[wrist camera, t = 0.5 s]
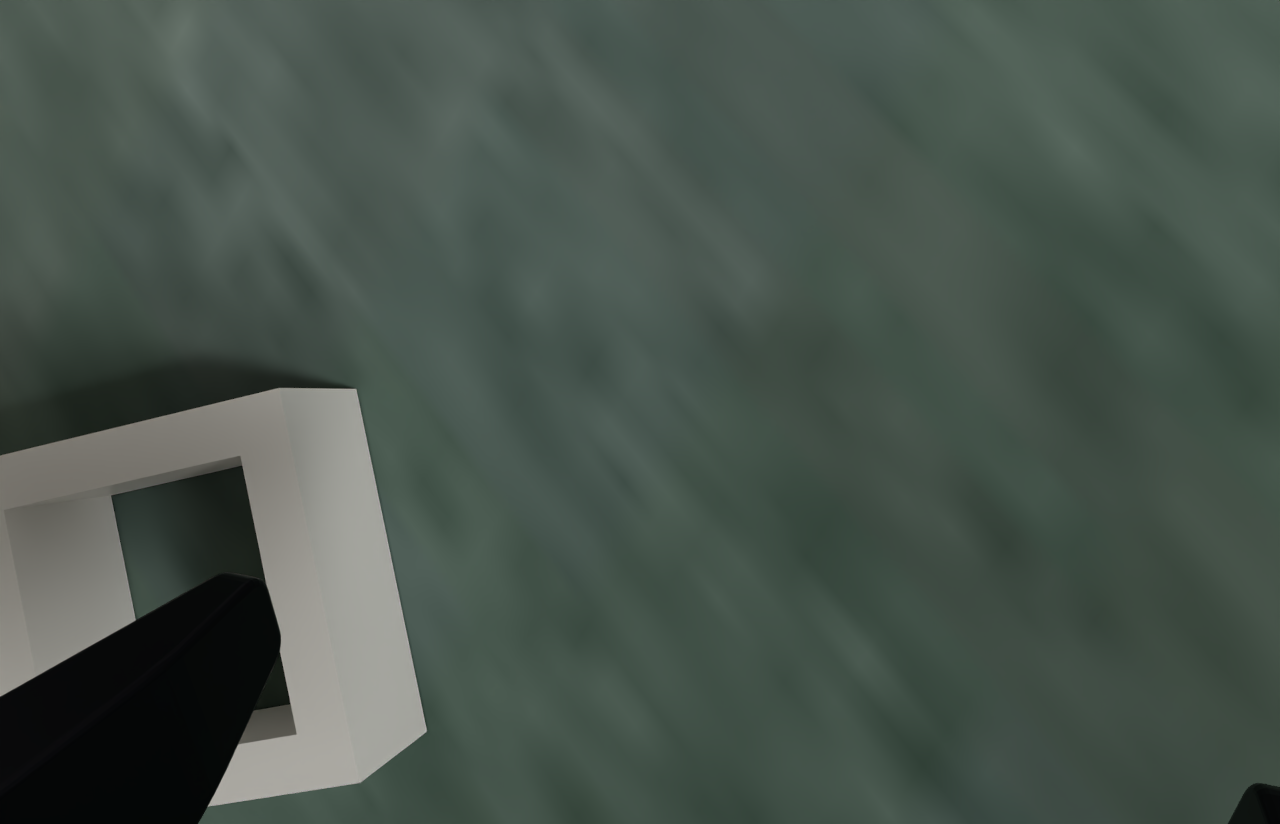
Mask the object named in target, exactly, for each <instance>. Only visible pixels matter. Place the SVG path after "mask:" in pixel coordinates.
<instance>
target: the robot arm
mask: <svg viewBox="0 0 1280 824" xmlns="http://www.w3.org/2000/svg"><path fill="white" fill-rule="evenodd" d="M280 647H281V633H280V629H279V625H278V622H277V618H276V615H275V611H274V608H273V604H272V601H271V597H270V594H269V590H268V588H267V585H266V584H265V583H264V582H263V581H262V580H261V579H259V578H257V577H252V576H247V575H242V574H238V573H232V572H224V573H221V574H218V575H216V576H213V577H212V578H210V579H208V580H206V581H205V582H203V583H201V584H199V585H197V586H196V587H194V588H192V589H190V590H189V591H187V592H185V593H183V594H181V595H180V596H178V597H176V598H174V599H173V600H171V601H169V602H167V603H166V604H164V605H162V606H160V607H158V608H157V609H155V610H153V611H151V612H150V613H148V614H146V615H144V616H142V617H141V618H139V619H137V620H135V621H134V622H132V623H130V624H128V625H126V626H125V627H123V628H121V629H119V630H118V631H116V632H114V633H112V634H110V635H109V636H107V637H105V638H103V639H102V640H100V641H98V642H96V643H94V644H93V645H91V646H89V647H87V648H86V649H84V650H82V651H80V652H78V653H77V654H75V655H73V656H71V657H70V658H68V659H66V660H64V661H62V662H61V663H59V664H57V665H55V666H54V667H52V668H50V669H48V670H46V671H45V672H43V673H41V674H39V675H38V676H36V677H34V678H32V679H31V680H29V681H27V682H25V683H23V684H22V685H20V686H18V687H16V688H15V689H13V690H11V691H9V692H7V693H6V694H4V695H2V696H0V824H198V823H199V821H200V819H201V818H202V816H203V814H204V812H205V810H206V809H207V807H208V805H209V803H210V801H211V800H212V798H213V796H214V794H215V792H216V790H217V788H218V786H219V784H220V782H221V780H222V778H223V776H224V774H225V772H226V770H227V768H228V766H229V763H230V761H231V759H232V757H233V755H234V753H235V750H236V748H237V746H238V744H239V742H240V739H241V737H242V735H243V733H244V731H245V729H246V726H247V724H248V722H249V720H250V718H251V715H252V713H253V711H254V709H255V707H256V705H257V702H258V700H259V698H260V696H261V694H262V691H263V689H264V687H265V685H266V683H267V681H268V678H269V676H270V674H271V672H272V670H273V667H274V665H275V663H276V661H277V658H278V655H279V652H280ZM1228 824H1280V787H1277V786H1272V785H1267V784H1262V783H1255V784H1253V785H1251V786H1250V787H1248V788H1247V790H1246V791H1245V792H1244V794H1243V796H1242V798H1241V800H1240V802H1239V804H1238V806H1237V807H1236V809H1235V811H1234V813H1233V815H1232V817H1231V819H1230V821H1229V823H1228Z"/></svg>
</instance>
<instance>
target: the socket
mask: <svg viewBox="0 0 1280 824" xmlns="http://www.w3.org/2000/svg"><path fill="white" fill-rule="evenodd" d="M239 466H243V471H244V476H245V481H246V486H247V491H248V496H249V501H250V506H251V511H252V516H253V521H254V526H255V531H256V535H257V540H258V545H259V550H260V555H261V560H262V565H263V570H264V575H265V580H266V585H267V588H268V590H269V594H270V597H271V601H272V604H273V608H274V611H275V615H276V618H277V622H278V625H279V629H280V633H281V647H280V654H281V659H282V664H283V669H284V673H285V678H286V683H287V688H288V693H289V698H290V703H291V704H289V705H283V706H277V707H271V708H266V709H260V710H254V711H253V713H252V715H251V718H250V720H249V722H248V724H247V726H246V729H245V731H244V733H243V735H242V737H241V739H240V742H239V744H238V746H237V748H236V750H235V753H234V755H233V757H232V759H231V761H230V763H229V766H228V768H227V770H226V772H225V774H224V776H223V778H222V780H221V782H220V784H219V786H218V788H217V790H216V792H215V794H214V796H213V798H212V800H211V801H210V803H209V805H208V806H214V805H221V804H227V803H233V802H240V801H246V800H253V799H259V798H265V797H272V796H278V795H285V794H291V793H298V792H304V791H310V790H317V789H323V788H330V787H336V786H343V785H349V784H355V783H360V782H362V781H363V780H364V779H366V778H367V777H368V776H369V775H371V774H372V773H373V772H375V771H376V770H377V769H379V768H380V767H381V766H383V765H384V764H385V763H386V762H388V761H389V760H390V759H392V758H393V757H394V756H396V755H397V754H398V753H399V752H401V751H402V750H403V749H405V748H406V747H407V746H409V745H410V744H411V743H413V742H414V741H415V740H416V739H418V738H419V737H420V736H422V735H423V734H424V733H426V732H427V729H426V724H425V719H424V715H423V710H422V705H421V700H420V695H419V690H418V686H417V681H416V676H415V671H414V666H413V661H412V656H411V652H410V647H409V642H408V637H407V632H406V627H405V623H404V618H403V613H402V608H401V603H400V598H399V593H398V589H397V584H396V579H395V574H394V569H393V564H392V560H391V555H390V550H389V545H388V540H387V535H386V531H385V526H384V521H383V516H382V511H381V506H380V501H379V497H378V492H377V487H376V482H375V477H374V472H373V468H372V463H371V458H370V453H369V448H368V443H367V438H366V434H365V429H364V424H363V419H362V414H361V409H360V405H359V400H358V395H357V390H356V389H324V388H277V389H273V390H269V391H265V392H260V393H256V394H252V395H248V396H244V397H240V398H236V399H232V400H227V401H223V402H219V403H215V404H211V405H207V406H203V407H198V408H194V409H190V410H186V411H182V412H178V413H174V414H170V415H165V416H161V417H157V418H153V419H149V420H145V421H141V422H137V423H132V424H128V425H124V426H120V427H116V428H112V429H108V430H104V431H99V432H95V433H91V434H87V435H83V436H79V437H75V438H71V439H66V440H62V441H58V442H54V443H50V444H46V445H42V446H37V447H33V448H29V449H25V450H21V451H17V452H13V453H9V454H4V455H0V696H2V695H4V694H6V693H7V692H9V691H11V690H13V689H15V688H16V687H18V686H20V685H22V684H23V683H25V682H27V681H29V680H31V679H32V678H34V677H36V676H38V675H39V674H41V673H43V672H45V671H46V670H48V669H50V668H52V667H54V666H55V665H57V664H59V663H61V662H62V661H64V660H66V659H68V658H70V657H71V656H73V655H75V654H77V653H78V652H80V651H82V650H84V649H86V648H87V647H89V646H91V645H93V644H94V643H96V642H98V641H100V640H102V639H103V638H105V637H107V636H109V635H110V634H112V633H114V632H116V631H118V630H119V629H121V628H123V627H125V626H126V625H128V624H130V623H132V622H134V621H135V620H136V619H135V614H134V609H133V604H132V599H131V594H130V589H129V584H128V579H127V574H126V569H125V564H124V559H123V554H122V549H121V544H120V539H119V534H118V529H117V524H116V518H115V513H114V508H113V503H112V498H111V495H116V494H120V493H124V492H129V491H133V490H137V489H142V488H146V487H151V486H155V485H159V484H164V483H168V482H173V481H177V480H181V479H186V478H190V477H195V476H199V475H203V474H208V473H212V472H217V471H221V470H225V469H230V468H234V467H239Z"/></svg>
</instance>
